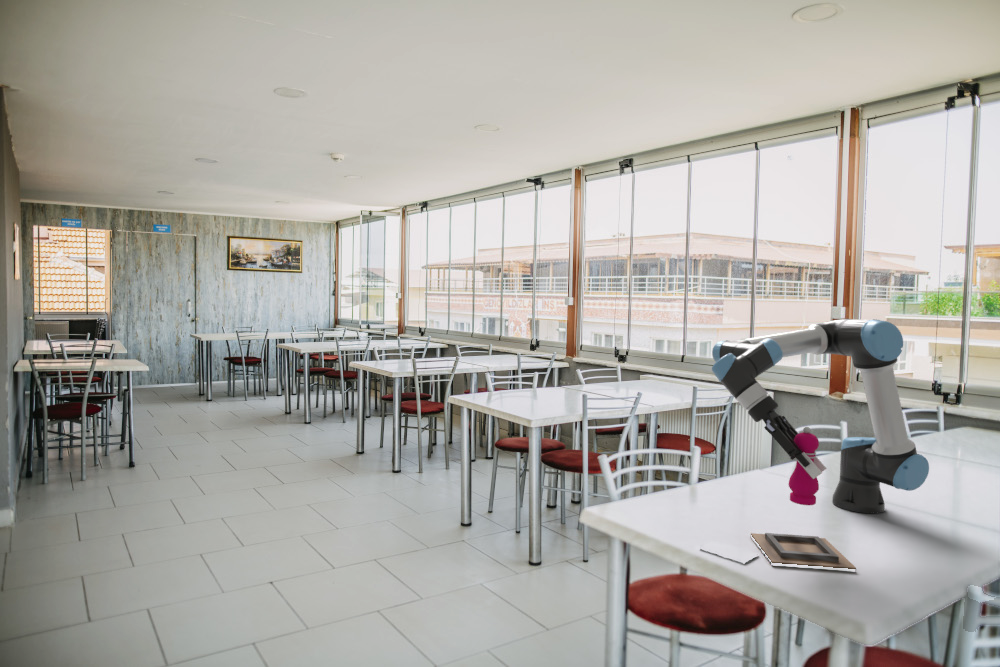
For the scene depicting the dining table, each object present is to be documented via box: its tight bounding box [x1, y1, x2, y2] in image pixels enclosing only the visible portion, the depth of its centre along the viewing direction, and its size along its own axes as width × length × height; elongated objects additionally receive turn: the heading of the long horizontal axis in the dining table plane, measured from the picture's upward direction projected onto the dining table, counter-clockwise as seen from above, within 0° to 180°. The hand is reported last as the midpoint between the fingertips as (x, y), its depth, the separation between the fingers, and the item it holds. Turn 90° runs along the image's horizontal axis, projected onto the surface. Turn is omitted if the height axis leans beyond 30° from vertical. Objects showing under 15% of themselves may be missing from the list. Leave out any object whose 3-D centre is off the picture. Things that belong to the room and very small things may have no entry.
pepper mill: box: [788, 426, 820, 506], centre depth 169 cm, size 7×7×20 cm
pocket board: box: [750, 532, 857, 570], centre depth 171 cm, size 20×20×3 cm
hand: (819, 473), depth 167 cm, fingers closed on pepper mill, 5 cm apart
